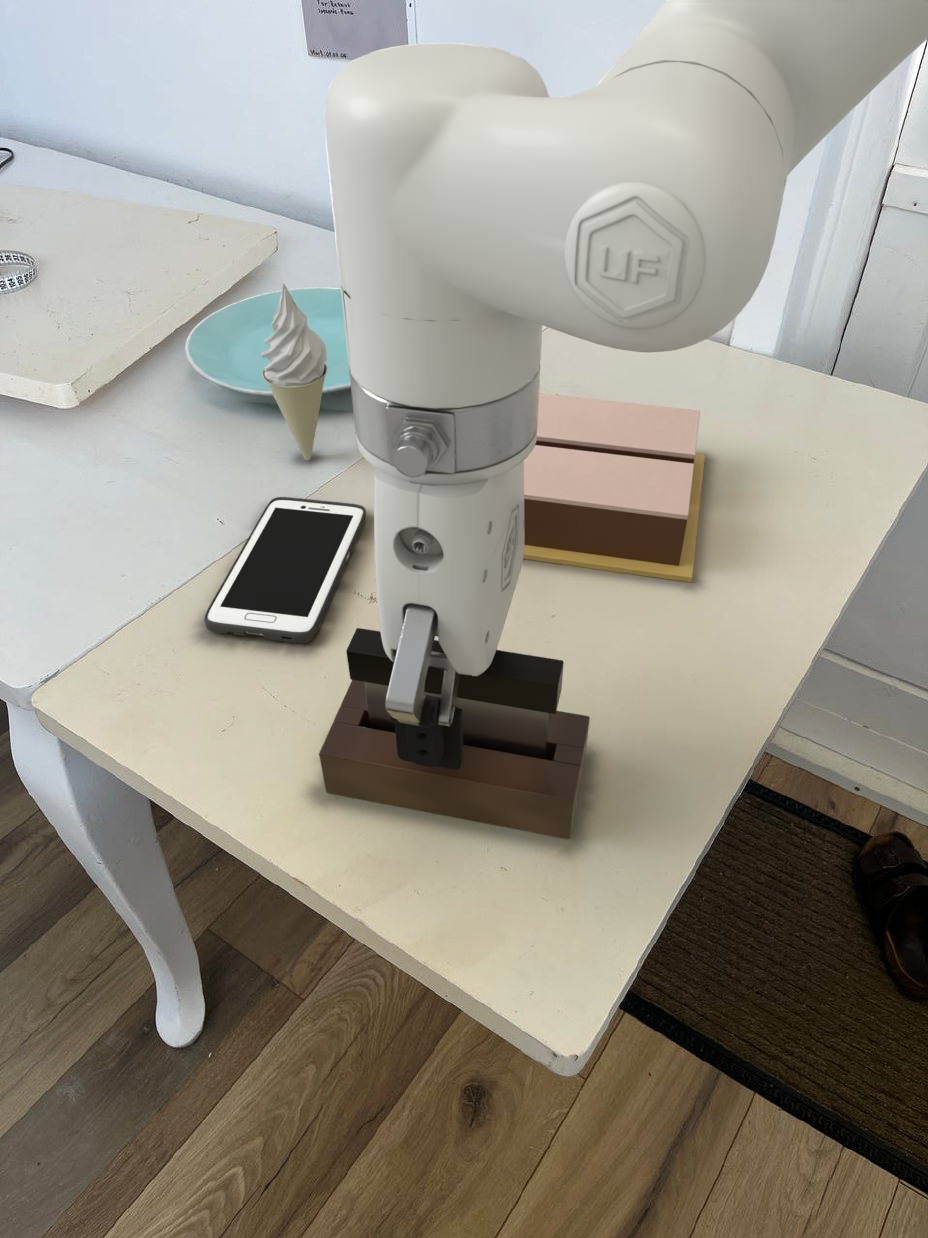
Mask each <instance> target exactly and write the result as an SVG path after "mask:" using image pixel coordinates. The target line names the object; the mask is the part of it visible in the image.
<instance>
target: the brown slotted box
mask: <svg viewBox="0 0 928 1238" xmlns="http://www.w3.org/2000/svg"><path fill="white" fill-rule="evenodd" d="M590 721H591V717H590V716H589V715H586V714H585V715H584V714H580V713H579V714H578V713H572V712H566V711H561V710H557V712H556V714H551V713H549V716H548V730H547V745H546V760H545V759H539V758H533V757H528V756H522V755H517V754H511V753H505V752H500V751H494V750H489V749H483V748H477V747H472V746H466V745H463V761H462V764H461V767H460V769H458V770H452V769H446V768H441V767H427V766H421V765H418V764H415V763H414V762H409V761H404V760H402V759H400V758H399V757H398V754H397V744H396V733H393V732H388V731H382V730H377V729H371V728H370V722H369V714H368V706H367V698H366V690H365V682H362V681H356V680H351V682H350V684H349V686H348V687H347V690H346V693H345V695H344V697H343V699H342V702H341V704H340V706H339V708H338V710H337V712H336V714H335V717H334V719H333V722H332V723H331V726H330V728H329V730H328V732H327V734H326V737H325V739H324V742H323V744H322V746H321V748H320V750H319V752H318V756H319V761H320V768H321V773H322V777H323V783H324V788H325V792H326V794H327V793H328V794H333V795H337V796H343V797H348V798H353V799H359V800H363V801H364V800H365V801H369V802H375V803H380V804H384V805H385V804H386V805H390V806H395V807H399V808H405V809H411V810H416V811H421V812H426V813H432V814H437V815H441V816H447V817H452V818H457V819H462V820H467V821H473V822H477V823H483V824H487V825H488V824H489V825H494V826H497V827H498V826H499V827H503V828H504V827H505V828H510V829H514V830H518V831H519V830H520V831H524V832H529V833H535V834H540V835H545V836H551V837H556V838H559V839H560V838H561V839H566V840H570V839H571V836H572V830H573V825H574V820H575V814H576V810H577V804H578V800H579V799H578V798H579V793H580V788H581V782H582V776H583V772H584V766H585V761H586V757H587V747H588V739H589V730H590V723H591V722H590Z"/></svg>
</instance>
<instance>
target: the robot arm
mask: <svg viewBox="0 0 928 1238" xmlns="http://www.w3.org/2000/svg"><path fill="white" fill-rule="evenodd" d="M927 40H928V0H665V1H664V2H663V3H662V4H661V6H660V7H659V8H658V10H657V11H656V12H655V13H654V14H653V16H652V17H651V18H650V19H649V21H648V22H647V23H646V25H645V26H644V27H643V28H642V30H641V31H640V32H639V33H638V35H637V36H636V37H635V38H634V39H633V41H632V42H631V43H630V44H629V45H628V47H627V48H626V49H625V50H624V52H623V53H622V54H621V55H620V56H619V58H618V59H617V61H616V62H614V64H613V65H612V66H611V67H610V68H609V70H608V71H607V72H606V73H605V74H604V75H603V76H602V77H601V79H600V80H599V81H598V82H597V84H596V85H594V86H592V87H590V88H587V89H585V90H583V91H581V92H578V93H575V94H572V95H569V96H563V97H550V95H549V91H548V87H547V86H546V83H545V81H544V79H543V78H542V76H541V74H540V73H539V71H538V70H537V69H536V68H535V67H534V66H532V64H530V62H528V61H527V60H526V59H524V58H523V57H521V56H519V55H516V54H514V53H511V52H509V51H505V50H503V49H500V48H496V47H491V46H486V45H480V44H473V43H472V44H471V43H462V42H461V43H459V42H457V43H456V42H426V43H425V42H424V43H415V44H404V45H403V44H402V45H397V46H390V47H386V48H382V49H377V50H374V51H371V52H369V53H366V54H363V55H362V56H359V57H357V58H354V59H352V60H351V61H349V62H348V63H346V64H345V65H344V66H343V67H342V68H341V69H339V71H338V72H337V73H336V75H334V77H333V79H332V81H331V83H330V85H329V87H328V90H327V94H326V98H325V101H324V110H323V121H324V122H323V123H324V124H323V125H324V138H325V140H324V141H325V150H326V161H327V171H328V180H329V190H330V191H329V192H330V198H331V199H330V201H331V209H332V210H331V211H332V219H333V228H334V229H333V230H334V238H335V248H336V257H337V258H336V259H337V267H338V274H339V275H338V276H339V286H340V287H339V288H341V297H342V306H343V316H344V325H345V335H346V344H347V354H348V363H349V374H350V384H351V388H350V391H351V402H352V412H353V423H354V430H355V440H356V445H357V448H358V450H359V453H360V454H361V455H362V457H363V458H364V459H365V461H367V463H369V464H370V465H371V466H372V467H374V480H373V481H374V482H373V483H374V487H373V488H374V490H373V491H374V492H373V493H374V494H373V529H374V530H373V533H374V535H373V537H374V540H373V542H374V569H375V570H374V571H375V572H374V573H375V590H376V591H375V593H376V606H377V616H378V624H379V631H380V632H381V638H382V643H383V647H384V650H385V652H386V654H387V656H388V657H389V658H390V660H391V661H392V662H394V666H393V670H392V674H391V678H390V683H389V687H388V691H387V696H386V702H385V709H386V711H387V712H388V713H389V714H390V715H391V720H392V721H393V722H395V733H396V744H397V754H398V757H399V758H400V759H402V760H404V761H409V762H414V763H415V764H418V765H421V766H427V767H441V768H446V769H452V770H458V769H460V767H461V764H462V761H463V722H462V709H459V708H458V707H456V698H457V691H458V684H459V677H460V674H465V675H472V676H478V675H480V674H482V673H483V672H484V671H485V670H486V669H487V668H488V667H489V666H490V664H491V662H492V660H493V658H494V655H495V652H496V650H498V646H499V644H500V639H501V636H502V634H503V630H504V627H505V624H506V621H507V618H508V615H509V611H510V608H511V605H512V602H513V597H514V594H515V591H516V588H517V585H518V581H519V577H520V574H521V570H522V566H523V561H524V559H523V555H524V544H525V528H524V460H525V459H526V458H527V457H528V456H529V454H530V453H531V452H532V450H533V449H534V447H535V444H536V441H537V429H538V408H539V393H540V384H541V360H542V342H543V340H542V339H543V327H546V328H549V329H552V330H555V331H557V332H559V333H563V334H566V335H568V336H572V337H574V338H578V339H580V340H583V341H587V342H590V343H593V344H596V345H599V346H604V347H608V348H611V349H615V350H620V351H621V350H622V351H628V352H635V353H662V352H672V351H678V350H681V349H684V348H689V347H691V346H694V345H697V344H699V343H701V342H703V341H705V340H707V339H709V338H711V337H713V336H714V335H716V334H718V333H719V332H720V331H722V330H723V329H724V328H726V327H727V326H728V325H730V323H731V322H732V321H733V320H734V319H736V318H737V317H738V316H739V315H740V313H741V312H742V311H743V310H744V309H745V307H746V306H747V305H748V304H749V302H750V301H751V300H752V298H753V296H754V294H755V293H756V291H757V289H758V288H759V286H760V284H761V282H762V279H763V277H764V275H765V273H766V270H767V267H768V265H769V262H770V259H771V254H772V250H773V248H774V244H775V239H776V234H777V231H778V230H777V229H778V225H779V221H780V215H781V210H782V205H783V201H784V194H785V190H786V186H787V180H788V176H789V175H790V174H791V172H793V170H794V169H796V167H797V166H798V165H800V163H801V162H802V160H804V159H805V158H806V156H807V155H809V153H810V152H811V151H813V149H814V148H815V147H816V146H817V145H818V144H819V143H821V142H822V140H823V139H825V137H826V136H827V135H828V134H829V133H831V131H833V129H834V128H835V127H837V125H839V124H840V122H842V120H844V118H845V117H846V116H847V115H849V113H851V111H853V110H854V108H856V107H857V106H858V105H859V104H860V103H861V102H862V101H863V100H864V99H865V98H866V97H867V96H868V95H869V94H870V93H871V92H872V91H873V90H874V89H875V88H876V87H878V85H879V84H881V82H883V80H884V79H886V78H887V77H888V76H889V75H890V74H891V73H892V72H893V71H894V70H895V69H896V68H897V67H899V65H901V64H902V63H903V62H904V61H905V60H906V59H907V58H908V57H909V56H910V55H912V53H914V52H915V51H916V50H917V49H918V48H919V47H920V46H921V45H922V44H924V43H925V42H926V41H927ZM436 637H437V639H438V641H439V644H440V645H441V647H442V649H443V651H444V653H440V652H433V651H432V648H433V644H434V640H436V639H435V638H436ZM428 667H430V668H436V669H442V670H444V677H443V684H442V692H441V697H436V696H430V695H425V693H424V686H425V680H426V675H427V671H428Z"/></svg>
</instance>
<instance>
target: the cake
mask: <svg viewBox="0 0 928 1238" xmlns="http://www.w3.org/2000/svg"><path fill="white" fill-rule="evenodd" d="M700 417H701V410H699V409H691V408H690V409H689V408H680V407H671V406H662V405H653V404H646V403H645V404H643V403H634V402H627V401H626V402H624V401H616V400H606V399H597V398H586V397H579V396H570V395H562V394H561V395H560V394H551V393H541V392H539V408H538V429H537V441H536V444H535V447H534V449H533V450H532V452H531V453H530V454H529V456H528V457H527V458H526V459H525V460H524V528H525V544H524V555H523V560H527V561H528V560H529V561H534V562H535V561H536V562H543V563H549V564H556V565H557V564H558V565H564V566H571V567H572V566H573V567H579V568H586V569H593V570H600V571H608V572H613V573H622V574H628V575H635V576H643V577H651V578H657V579H664V580H670V581H671V580H672V581H678V582H685V583H692V581H693V577H694V576H693V574H694V564H695V556H696V546H697V537H698V526H699V517H700V507H701V496H702V486H703V478H704V467H705V459H706V454H705V453H699V452H696V451H697V443H698V435H699V426H700Z"/></svg>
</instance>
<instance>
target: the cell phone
mask: <svg viewBox="0 0 928 1238" xmlns="http://www.w3.org/2000/svg"><path fill="white" fill-rule="evenodd" d="M366 520H367V511H366V508H365V506H363V505H361V504H356V503H350V502H341V501H331V500H320V499H311V498H299V497H292V496H277V497H273V498H272V499H271V500H270V501H269V502H268V504H267V505H266V506H265V508H264V510H263V511H262V513H261V515H260V517H259V519H258V520H257V522H256V524H255V526H254V527H253V529H252V531H251V532H250V534H249V536H248V538H247V540H246V542H245V543H244V545H243V546H242V547H241V550H240V552H239V553H238V554H237V557H236V559H235V560H234V562H233V564H232V565H231V568H230V569H229V570H228V573H227V574H226V576H225V578H224V580H223V581H222V583H221V585H220V587H219V588H218V590H217V592H216V593H215V595H214V597H213V599H212V601H211V602H210V604H209V606H208V607H207V610H206V612H205V615H204V618H203V619H204V625H205V628H206V629H207V630H209V632H210V631H211V632H213V633H218V634H224V635H229V634H232V635H234V636H242V637H247V636H248V635H249V636H255V637H263V639H266V640H272V641H273V640H274V641H281V642H289V643H297V644H299V643H300V644H301V643H302V644H304V643H308V642H310V641H312V640H313V639H314V638H315V636H316V634H317V633H318V631H319V630H320V627H321V625H322V622H323V621H324V619H325V616H326V613H327V611H328V608H329V606H330V604H331V602H332V600H333V597H334V595H335V592H336V590H337V588H338V585H339V583H340V581H341V579H342V577H343V574H344V572H345V570H346V567H347V565H348V560H349V557H350V556H351V555H352V554H353V551H354V550H355V547H356V544H357V542H358V540H359V537H360V535H361V533H362V530H363V528H364V526H365V524H366Z"/></svg>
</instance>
